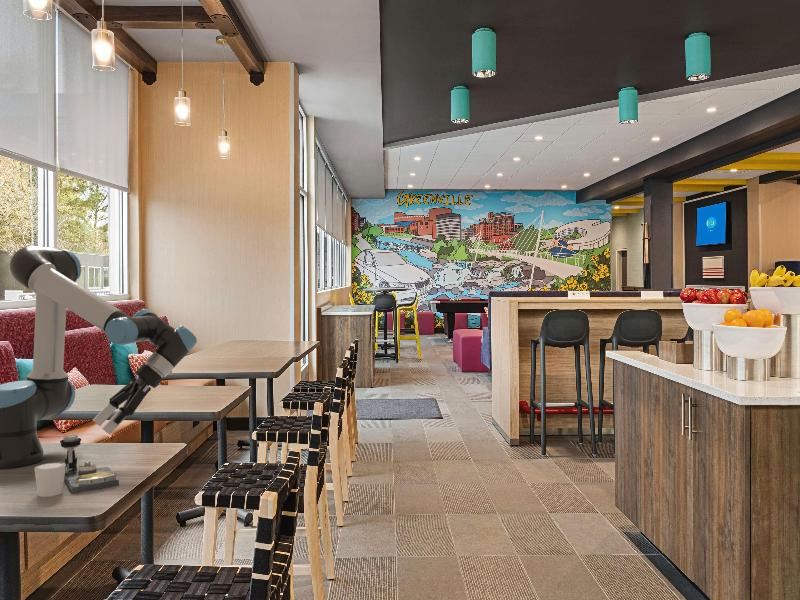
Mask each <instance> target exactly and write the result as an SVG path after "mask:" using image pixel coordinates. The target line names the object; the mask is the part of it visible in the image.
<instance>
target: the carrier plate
mask: <svg viewBox="0 0 800 600" xmlns="http://www.w3.org/2000/svg"><path fill="white" fill-rule="evenodd" d="M64 482H65V483H66V485H67V486H68V488H69V490H70V492H71V493H72V494H75V493H83V492H87V491H93V490H94V491H95V490H98V489H104V488H111V487H116V486H120V479H119V478H118V477H117V474H115V473H114V472H113V471H112V470H111V469H110V467H109V466H102V467H97V463H95V462H91V461H85V462H84V463H83V464H80V465H78V470H75V472H68V473H67V472H65V475H64Z"/></svg>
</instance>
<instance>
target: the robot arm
mask: <svg viewBox="0 0 800 600" xmlns="http://www.w3.org/2000/svg"><path fill="white" fill-rule="evenodd" d="M9 261H10V262H9V270H10V272H11V275H12V276H13V278H14V279H15V280H16V281H17V282H18V283H19V284H21V285H22V286H24V287H25V288H26V289H28V290H30V291H32V292H33V293H34V294H35V296H36V297H35V313H34V317H35V318H34V334H33V335H34V336H33V337H34V338H33V356H32V357H33V358H32V370H31V371H30V372H29V373H27V375H26V380H15V381H9V382H5V383H2V384H0V469H12V468H18V467H19V468H20V467H25V466H29V465H32V464H33V465H34V464H36V463H40V462H41V461H43V460H44V459H45V456H44V455H45V452H44V449H43V446H42V443H41V442H40V439H39V437H38V433H37V428H38V427H37V422H38V421H41V420H44V419H47V418H53V417H57V416H59V415H61V414H64V413H65V412H66V411H68V410H70V409H71V407H72V406H73V404H74V403H75V398H76V389H75V387H74V385H73V383H72V382H71V381H70V380H69V374H68V373H67V372H66V371H65V370H64V363H65V362H64V361H65V345H66V343H65V340H66V324H67V323H66V322H67V321H66V320H67V309H68V311H71V312H72V313H73V314H76V315H77V316H78V317H80V318H82V319H83V320H85V321H86V322H88V323H90V324H91V325H92V326H94V327H96V328H98V329H99V330H100V331H102V332H104V334H105V337H106V339H107V340H108V341H109V342H110V343H111V344H113V345H123V346H124V345H130V344H133V343H134V344H135V343H141V342H146V341H147V342H149V343H150V344H152V345H153V346H154V347H155V348H157V349H155V351H154V352H152V354H151V355H149V357H147V359H146V360H145V363H143V364H141V365H140V366H139V367H138V369H137V370H135V374H136V376H138V378H134V377H133V378H132V379H131V380H130V381H129V382H128V383H127V384H125V386H123V387H122V388H121V389H120V390H118V391H117V392H116V393H115V394H114V395H113V396H111V397H110V398H109V402H108V403H107V404H106V406H104V408H103V409H101V410H100V412H99V413H97V415H96V416H95V417H94V418H93V419H92V421H93V422H94V423H96V425H98V426H99V427H101V426H102V425H103V423H105V422H106V421H107V420H108V418H109V417H110V416H112V415H113V413H114V412H115V411H116V410H118V411H116V413H114V415H113V416H112V417H111V418H110V419H109V420H108V421H107V422H106V424H104V425H103V426H102V427H101V429H102V431H104V432H105V433H107V434H108V435H110V436H111V434H112V433H113V432H114V431H115V430H116V429H117V428H118V426H119V425H120V424H121V423H122V422H123V421H124V420H126V418H127V417H128V416H132V415H134V413H135V411H136V410H137V408H138V407H139V406H140V405H141V403H142V402H143V400H144V399H145V397H146V396H147V394H149V392H150V391H151V390H152V388H153V389H155V388H157V387H158V386H160V384H161V383H162V382H163V379H164V378H166V377H167V376H168V375H169V374H172V373H173V371H172V370H173V369H174V368H175V367H176V366H177V365H178V364H179V363H180V362H181V361H182V360H183V359H184V358H185V357H186V356H187V355H188V354H189V353H190V352H191V350H192V349H193V347H194V346H195V345H196V344H197V342H198V339H197V336H196V335H195V334H194V333H193V332H192V331H191V330H190V329H188V328H187V327H185V326H183V325H178V326H177V327H175V328H174V327H173V326H171V325H170V324H169V323H167V322H166V321H164V319H162V318H161V317H159V316H158V314H156V313H154V312H152V311H150V310H149V309H147V308H142V309H141V310H138V311H137V312H135V314H134V315H133V316H130V315H128V314H127V313H125V312H124V311H122V310H121V309H119V308H117V307H116V306H114V305H113V304H111V303H110V302H108V301H106V300H105V299H102V297H100V296H99V295H97V294H95V293H93V292H92V291H90V290H89V289H87V288H85V287H83V286H82V285H80V284H79V283H77V281H78V280H79V279H80V277H81V274H82V264H81V262H80V259H79V258H78V257H77V256H76V254H75V253H74V252H73V251H71V250H69V249H66V248H60V247H49V246H47V247H46V246H39V245H38V246H37V245H29V246H25V247H21V248H20V249H19V250H16V252H14V253H13V255H12V256H11V258H10V260H9ZM151 387H152V388H151ZM123 403H124V404H123ZM122 404H123V406H121V407H120V405H122Z"/></svg>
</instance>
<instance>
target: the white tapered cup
mask: <svg viewBox="0 0 800 600" xmlns="http://www.w3.org/2000/svg"><path fill="white" fill-rule="evenodd" d="M65 466H66V464H65V462H49V463H43V464H39V465H36V466H35V467H34V468H33V469H34V477H35V483H36V492H37V496H38V497H41V498H48V497H54V496H58V495H61V494H63V492H64V485H65V480H64V475H65V473H66V472H65Z"/></svg>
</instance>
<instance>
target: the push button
mask: <svg viewBox="0 0 800 600" xmlns="http://www.w3.org/2000/svg"><path fill="white" fill-rule="evenodd" d="M81 441H82V438H81V437H79V436H78V435H76V434H71V435H65V436H63V439H61V440H59V443H60V446H61V447H62V448H63V449H66V450H67V451H66V458H65V459H64V464H65V473H68V472H75V471H78V464H77V463H78V458H77V457H76V454H75V453H76V451H75V448H78V447H79V446H80V445H81Z"/></svg>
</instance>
